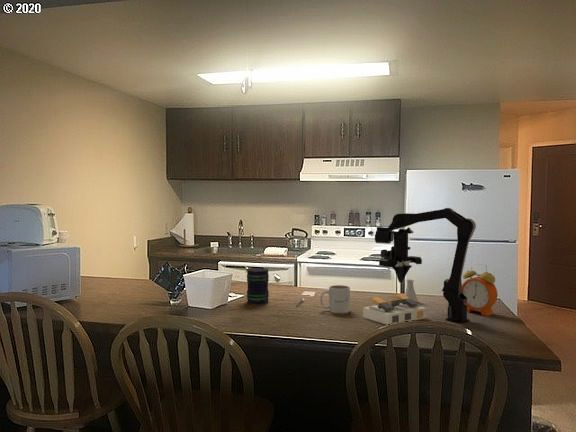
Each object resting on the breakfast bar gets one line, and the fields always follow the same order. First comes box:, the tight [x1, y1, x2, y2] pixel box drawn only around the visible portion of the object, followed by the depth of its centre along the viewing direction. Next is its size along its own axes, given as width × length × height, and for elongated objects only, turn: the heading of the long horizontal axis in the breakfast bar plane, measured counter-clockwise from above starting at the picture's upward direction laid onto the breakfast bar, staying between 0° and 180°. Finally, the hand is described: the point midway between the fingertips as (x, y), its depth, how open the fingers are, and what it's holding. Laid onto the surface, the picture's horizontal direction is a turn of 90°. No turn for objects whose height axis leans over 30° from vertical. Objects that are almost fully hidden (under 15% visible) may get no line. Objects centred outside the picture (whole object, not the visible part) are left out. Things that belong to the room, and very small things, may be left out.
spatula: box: [295, 291, 316, 308], centre depth 220 cm, size 6×29×2 cm, turn 166°
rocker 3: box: [394, 293, 419, 307], centre depth 190 cm, size 9×4×2 cm, turn 32°
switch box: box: [362, 303, 427, 326], centre depth 186 cm, size 14×20×5 cm
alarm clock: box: [462, 263, 499, 317], centre depth 195 cm, size 13×6×20 cm, turn 40°
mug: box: [319, 284, 351, 314], centre depth 199 cm, size 12×9×10 cm
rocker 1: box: [370, 296, 394, 312], centre depth 183 cm, size 9×4×2 cm, turn 32°
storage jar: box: [246, 267, 270, 306], centre depth 214 cm, size 10×10×15 cm
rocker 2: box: [384, 299, 406, 307], centre depth 186 cm, size 9×4×2 cm, turn 32°
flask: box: [403, 278, 419, 303], centre depth 216 cm, size 7×7×10 cm
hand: (400, 282), depth 193 cm, fingers closed
